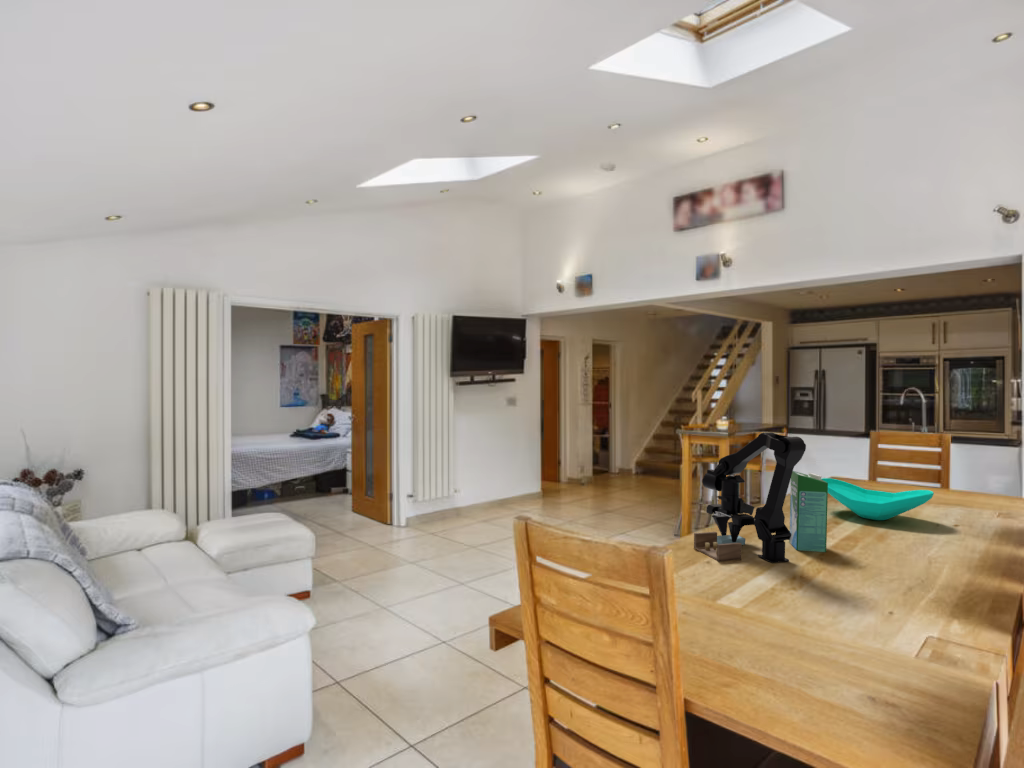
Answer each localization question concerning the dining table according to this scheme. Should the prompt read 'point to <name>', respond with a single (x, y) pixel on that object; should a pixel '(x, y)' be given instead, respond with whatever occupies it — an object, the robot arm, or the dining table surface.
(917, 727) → the dining table surface
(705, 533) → the cradle
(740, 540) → the block
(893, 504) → the table top decor
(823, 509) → the milk carton
